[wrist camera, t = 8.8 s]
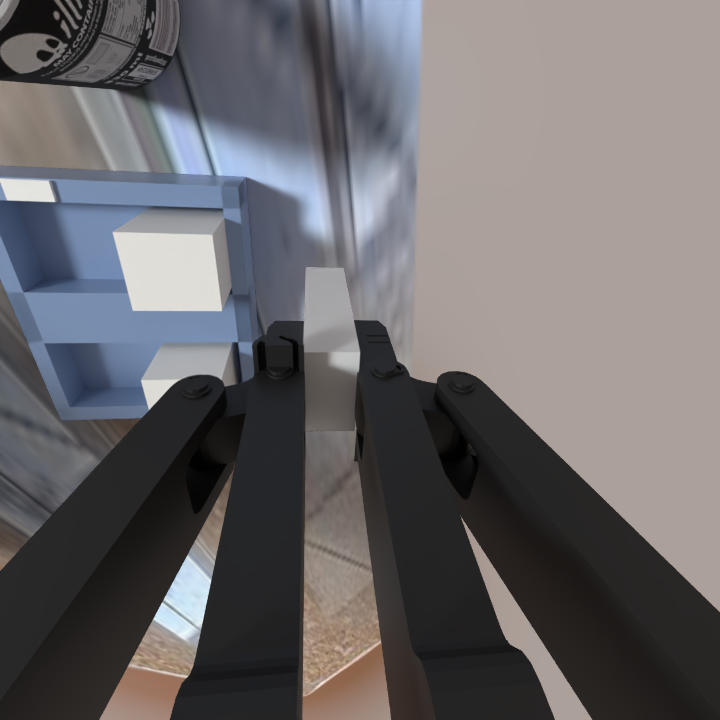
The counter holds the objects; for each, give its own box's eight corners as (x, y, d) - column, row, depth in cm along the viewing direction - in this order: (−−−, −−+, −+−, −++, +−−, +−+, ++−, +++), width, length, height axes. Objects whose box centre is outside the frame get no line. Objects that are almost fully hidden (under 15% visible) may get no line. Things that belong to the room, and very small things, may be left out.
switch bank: (84, 389, 28) (59, 422, 25) (1, 165, 20) (-48, 175, 18) (262, 386, 29) (258, 416, 27) (245, 176, 22) (237, 187, 19)
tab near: (164, 273, 23) (132, 310, 19) (150, 206, 21) (112, 231, 17) (236, 274, 23) (222, 311, 19) (229, 209, 22) (212, 234, 17)
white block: (178, 381, 27) (155, 433, 23) (168, 333, 25) (140, 380, 21) (240, 380, 27) (229, 430, 23) (234, 333, 25) (221, 378, 21)
